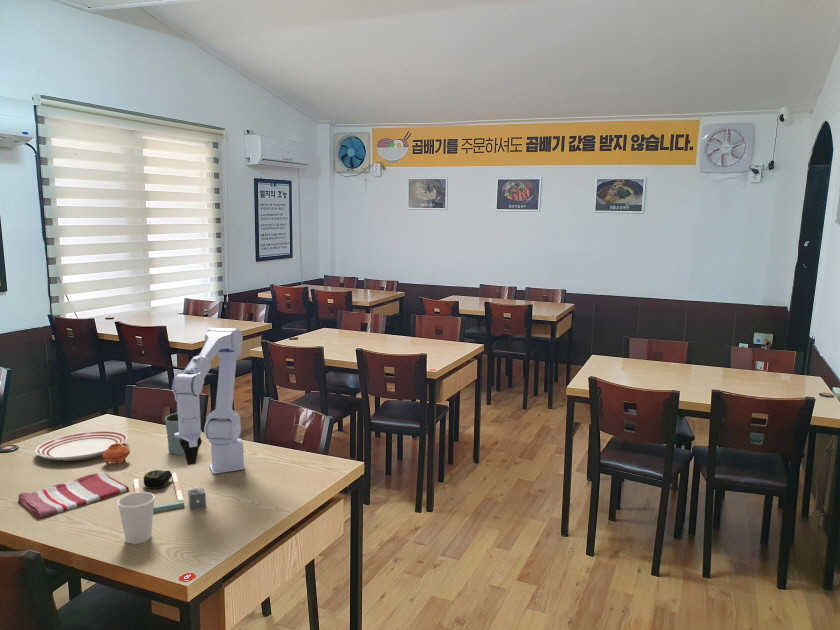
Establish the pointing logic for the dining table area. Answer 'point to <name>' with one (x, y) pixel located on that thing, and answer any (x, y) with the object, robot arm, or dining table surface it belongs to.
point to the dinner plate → (80, 445)
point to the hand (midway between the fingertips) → (191, 463)
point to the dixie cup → (137, 516)
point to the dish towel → (71, 494)
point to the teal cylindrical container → (173, 441)
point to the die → (197, 498)
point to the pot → (116, 453)
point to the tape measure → (157, 478)
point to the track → (171, 505)
